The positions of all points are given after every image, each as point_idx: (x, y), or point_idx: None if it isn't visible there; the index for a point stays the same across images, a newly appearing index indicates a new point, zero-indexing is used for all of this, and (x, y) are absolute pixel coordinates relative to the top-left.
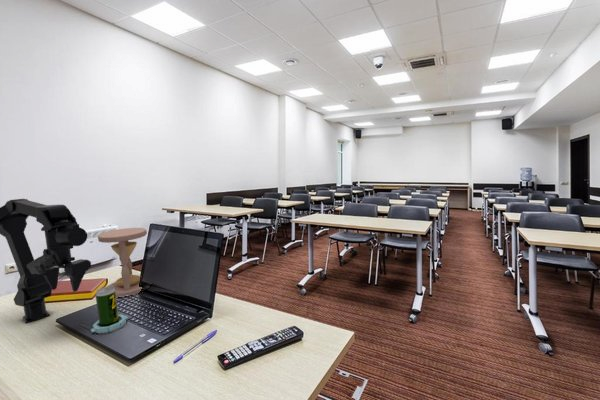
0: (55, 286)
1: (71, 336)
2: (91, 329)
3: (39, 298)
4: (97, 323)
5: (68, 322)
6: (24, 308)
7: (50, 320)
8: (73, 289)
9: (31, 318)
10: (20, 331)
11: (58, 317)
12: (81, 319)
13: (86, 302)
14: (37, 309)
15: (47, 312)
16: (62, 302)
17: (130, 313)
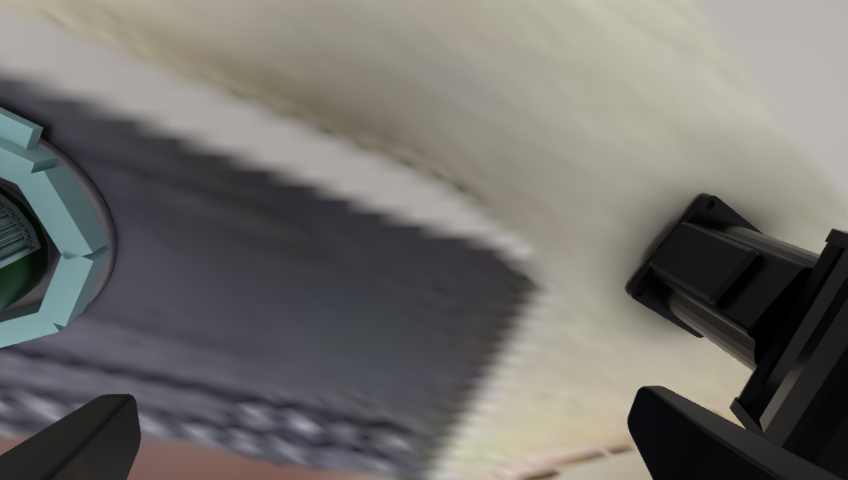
0: (658, 453)
1: (178, 59)
2: (23, 127)
3: (785, 348)
4: (28, 198)
5: (418, 239)
6: (813, 252)
7: (572, 245)
8: (58, 428)
9: (700, 225)
10: (660, 99)
11: (550, 283)
12: (358, 284)
13: (526, 447)
14: (712, 270)
15: (662, 311)
16: None
17: (44, 403)
